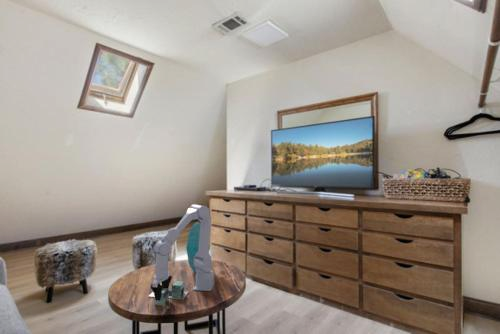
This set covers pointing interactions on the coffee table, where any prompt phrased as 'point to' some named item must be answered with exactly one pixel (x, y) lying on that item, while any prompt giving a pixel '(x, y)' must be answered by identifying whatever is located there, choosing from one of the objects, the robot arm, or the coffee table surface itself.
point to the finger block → (163, 297)
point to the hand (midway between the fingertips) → (161, 296)
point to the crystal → (193, 244)
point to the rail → (175, 291)
